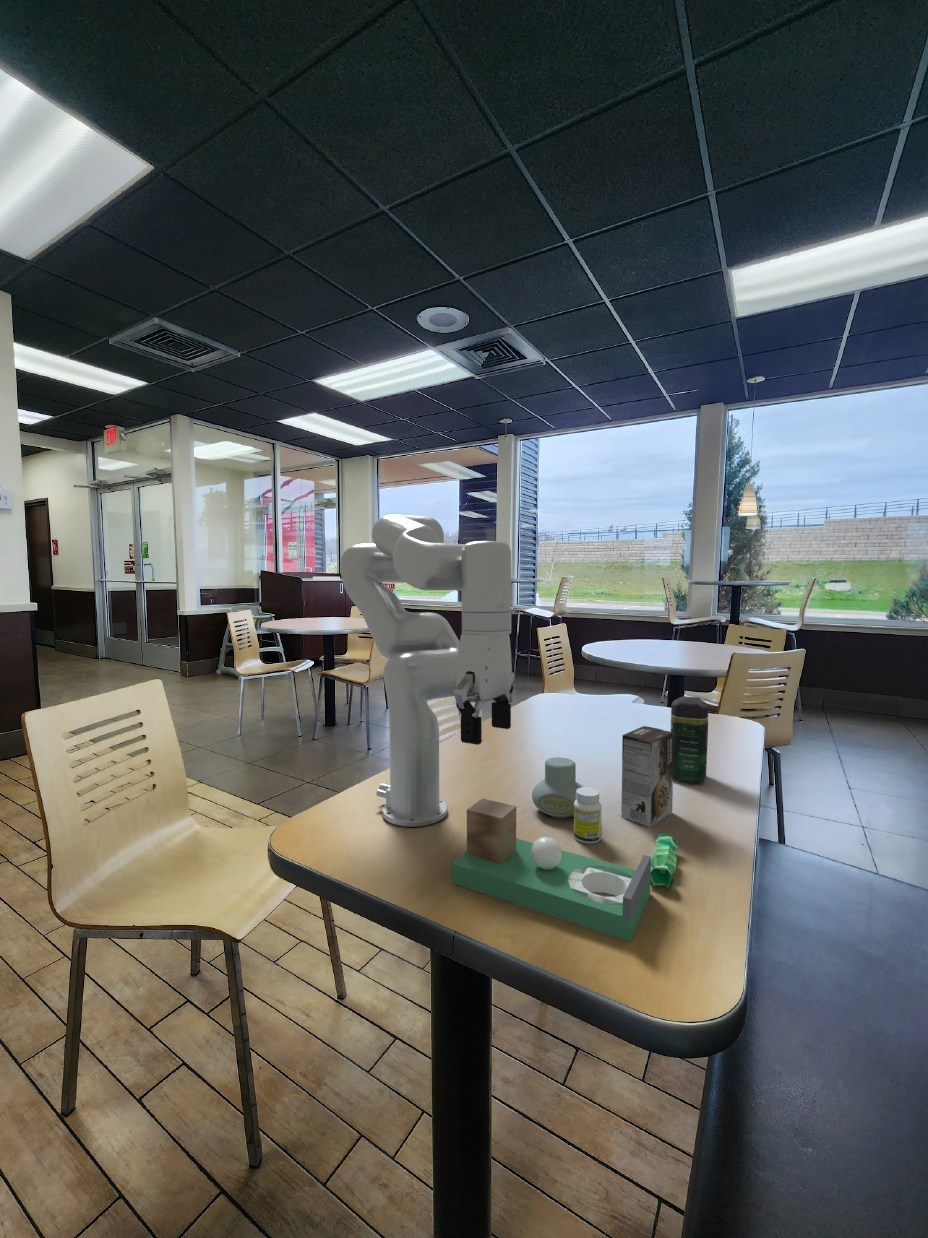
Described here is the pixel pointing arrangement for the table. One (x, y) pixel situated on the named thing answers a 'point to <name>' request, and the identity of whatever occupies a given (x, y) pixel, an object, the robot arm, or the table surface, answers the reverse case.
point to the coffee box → (647, 775)
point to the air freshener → (557, 788)
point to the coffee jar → (689, 739)
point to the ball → (546, 853)
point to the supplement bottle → (587, 816)
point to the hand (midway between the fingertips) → (486, 735)
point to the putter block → (491, 830)
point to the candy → (663, 860)
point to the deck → (564, 888)
